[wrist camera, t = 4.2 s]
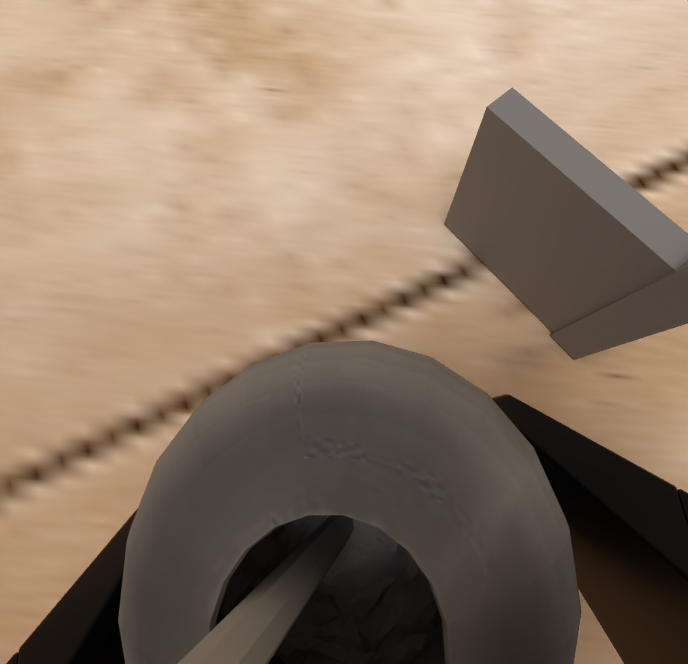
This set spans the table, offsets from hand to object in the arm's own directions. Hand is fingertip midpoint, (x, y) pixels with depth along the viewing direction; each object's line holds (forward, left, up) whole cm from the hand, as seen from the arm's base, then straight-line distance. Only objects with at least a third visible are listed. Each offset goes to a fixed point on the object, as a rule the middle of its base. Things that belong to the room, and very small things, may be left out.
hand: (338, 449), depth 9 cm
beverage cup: (-1, +1, -10) cm, 10 cm away
